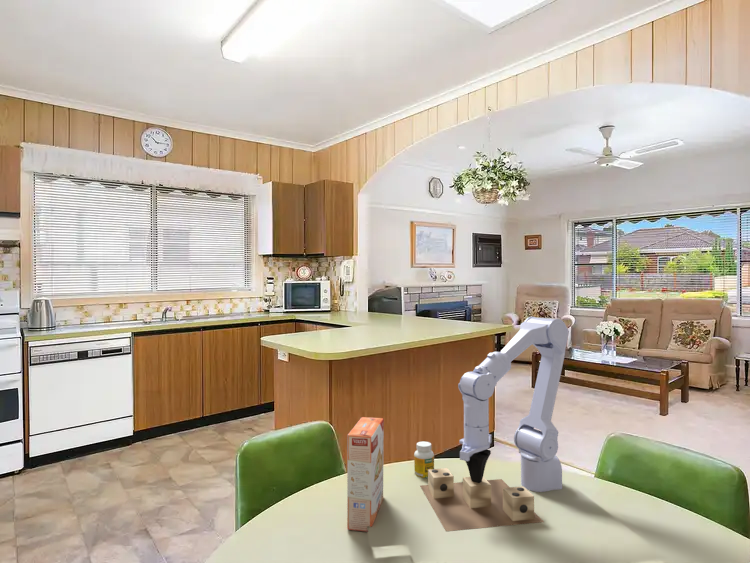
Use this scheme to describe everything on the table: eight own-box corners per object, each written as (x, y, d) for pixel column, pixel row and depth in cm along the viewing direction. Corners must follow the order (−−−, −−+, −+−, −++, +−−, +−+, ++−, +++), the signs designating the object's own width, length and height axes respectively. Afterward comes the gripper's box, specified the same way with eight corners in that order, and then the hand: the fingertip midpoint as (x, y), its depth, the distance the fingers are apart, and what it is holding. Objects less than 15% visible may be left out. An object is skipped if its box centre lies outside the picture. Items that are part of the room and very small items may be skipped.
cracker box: (373, 533, 100) (372, 436, 100) (346, 531, 102) (345, 434, 101) (385, 502, 114) (384, 416, 114) (361, 500, 115) (360, 415, 115)
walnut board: (501, 484, 123) (501, 479, 123) (544, 528, 102) (544, 521, 102) (419, 491, 120) (419, 485, 120) (445, 538, 98) (445, 531, 98)
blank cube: (483, 496, 114) (482, 475, 114) (491, 506, 109) (491, 484, 109) (463, 498, 113) (462, 477, 113) (470, 508, 108) (470, 486, 108)
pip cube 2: (523, 508, 108) (523, 485, 108) (534, 519, 103) (534, 495, 103) (503, 509, 107) (502, 487, 107) (512, 521, 102) (512, 497, 102)
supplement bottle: (423, 473, 131) (422, 438, 131) (438, 479, 127) (438, 443, 127) (410, 479, 127) (410, 443, 127) (425, 485, 124) (425, 448, 123)
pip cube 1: (447, 487, 118) (447, 467, 118) (453, 497, 113) (453, 476, 113) (428, 489, 118) (428, 469, 118) (433, 498, 113) (433, 477, 113)
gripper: (472, 413, 119) (472, 467, 119) (447, 429, 107) (447, 488, 107) (499, 418, 115) (499, 473, 115) (476, 434, 103) (477, 496, 103)
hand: (476, 481), depth 111 cm, fingers closed, pressing on blank cube
